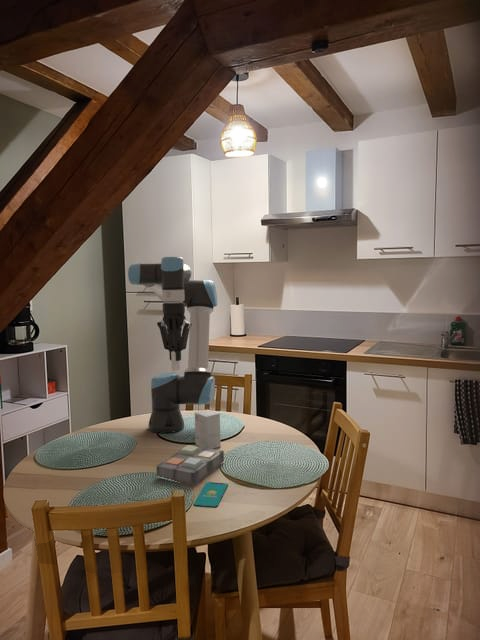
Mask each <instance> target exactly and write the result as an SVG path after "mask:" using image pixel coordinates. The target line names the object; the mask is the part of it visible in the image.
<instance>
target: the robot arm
mask: <svg viewBox="0 0 480 640" xmlns="http://www.w3.org/2000/svg"><path fill="white" fill-rule="evenodd" d="M127 271H128V272H127V276H128V281H129V283H130V284H131V285H133V286H134V285H137V286H141V285H142V286H144V287H145V288H147V289H149V290H150V291H151V292H153V293H154V294H156V296H157V298H158V299H159V300H161V301H162V302H163V303H162V314H163V316H162V320H160V321H158V322H156V325H157V327H158V328H159V331H160V336H161V341H162V345H163V348H164V350H167V351H168V353H169V360H170V361H171V371H172V372H165V373H160V374H158V375H155V376H153V377H152V378H151V386H150V390H151V392H150V393H151V413H150V417H149V420H148V431H150V432H152V433H156V434H167V433H166V432H172V433H174V432H173V431H176V432H178V431H177V430H179V431H181V430H180V429H182V428H183V427H184V428H185V421H184V417H183V415H182V412H181V408H180V405H197V406H198V405H199V406H202V405H209V404H210V403H211V402H212V400H213V399H214V395H215V394H214V393H215V388H216V378H215V376H213V375H212V371H211V370H210V369H209V350H210V349H209V346H210V319H211V318H210V317H211V316H210V315H211V314H212V313H213V312H214V308H216V307H217V306H218V293H217V289H216V285H215V283H214V281H212V280H209V279H207V280H205V279H200V280H199V279H196V280H193V279H192V280H190V279H191V278H192V269H191V268H190V266H189V265H188V264H186V263H185V262H184V258H183V257H182V256H164V257H162V258H161V262H160V263H140V262H139V263H133V264H131V265H130V266H129V267H128V269H127ZM186 311H187V312H188V313H189V321H187V320H186V318H187V317H186V316H185V313H186ZM187 343H188V358H187V359H188V361H187V369H185V370H184V372H183V376H180V374H179V373H178V372H176V371H179V370H180V366H181V365H180V362H181V361H182V351H184V350H186V349H187ZM184 428H183V429H184ZM183 429H182V430H183ZM158 432H160V433H158Z"/></svg>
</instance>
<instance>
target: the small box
mask: <svg viewBox="0 0 480 640" xmlns="http://www.w3.org/2000/svg"><path fill="white" fill-rule="evenodd" d="M220 414H221V413H219V412H216V411H215V410H214V411H213V410H210V409H209V408H207V409H203V410H199V411H195V412H194V427H195V428H194V435H195V437H194V438H195V446H196V447H202V448H209V449H217V448H221V446H222V445H221V415H220Z"/></svg>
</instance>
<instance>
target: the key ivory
mask: <svg viewBox="0 0 480 640" xmlns="http://www.w3.org/2000/svg"><path fill="white" fill-rule="evenodd" d="M214 455H215V452H209V451H203V452H202V453H200V454H199V455H198V457H203V458H208V459H210V458H211V457H213V456H214Z"/></svg>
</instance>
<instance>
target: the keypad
mask: <svg viewBox="0 0 480 640" xmlns="http://www.w3.org/2000/svg"><path fill="white" fill-rule="evenodd" d="M198 447H199V446H198ZM203 451H209V452H215V455H214V456H213V457H211V458H210V459H208V458H203V457H198V455H199V454H200V453H202V452H203ZM224 452H225V451H224V450H220V449H216V448H214V449H209V448H202V447H199V452H197V453H196V454H195V455H193V456H191V455H185V454H181V450H180V451H177V452H176V453H175V454H173V455H172V456H170V457H169V458H167V459H165V460H164V461H162V462H161V463H159V464H157V465H156V477H157V476H160V477H164V478H167V479H171V480H174V481H177V482H180V483H179V484H181V483H182V485H186V486H193V487H195V486H196V485H198V484H199V483H200V482H202V481H203V480H204V479H205V478H206V477H208V476H209V475H210V474H211V473H213V472H215V470H217V469H218V468H219V467H220V466H222V465H221V463H222V462H223V461H224V462H225V458H224V457H225V455H224V454H225V453H224ZM173 457H174V458H180V459H185V460H187V459H188V458H190V457H192V458H198V459H202V465H201V466H199V467H198V468H196V469H192V468H187V467H183V463H181V464H180V465H178V466H176V465H170V464H166V462H167V461H169V460H170V459H172V458H173Z"/></svg>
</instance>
